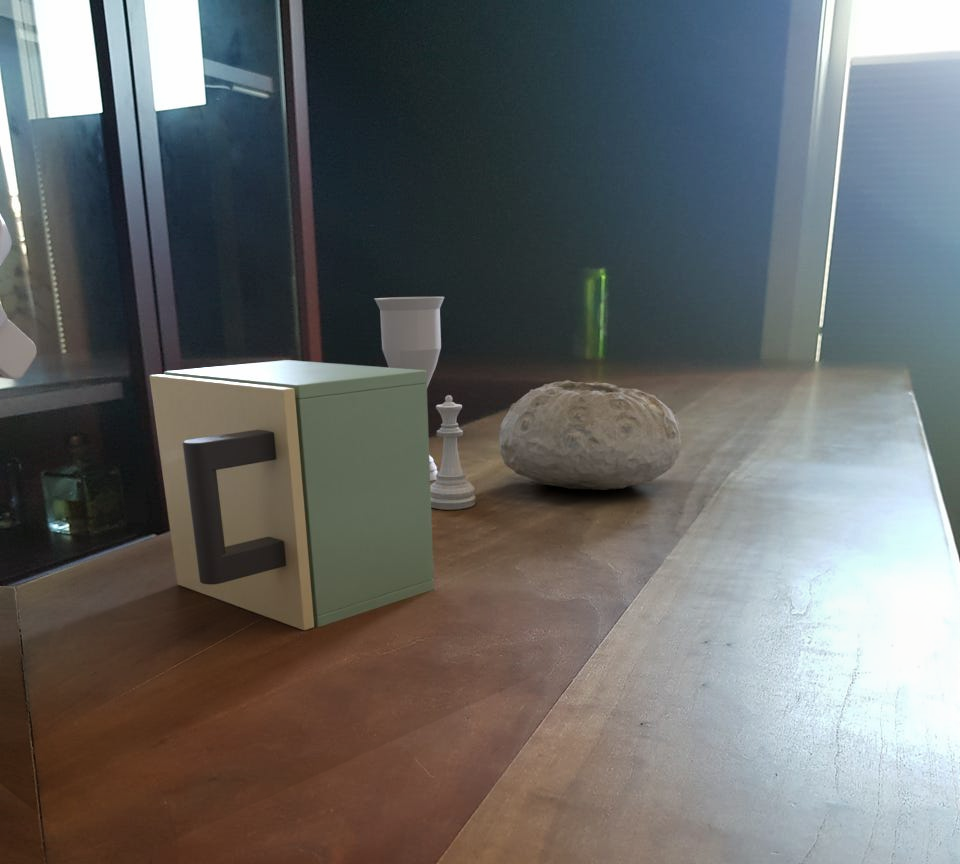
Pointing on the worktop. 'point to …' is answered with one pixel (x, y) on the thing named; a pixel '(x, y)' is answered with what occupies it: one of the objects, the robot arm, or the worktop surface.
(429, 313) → the chalice
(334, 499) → the cupboard
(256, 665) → the worktop surface
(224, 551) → the door
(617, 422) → the decorative shell
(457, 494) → the chess piece
